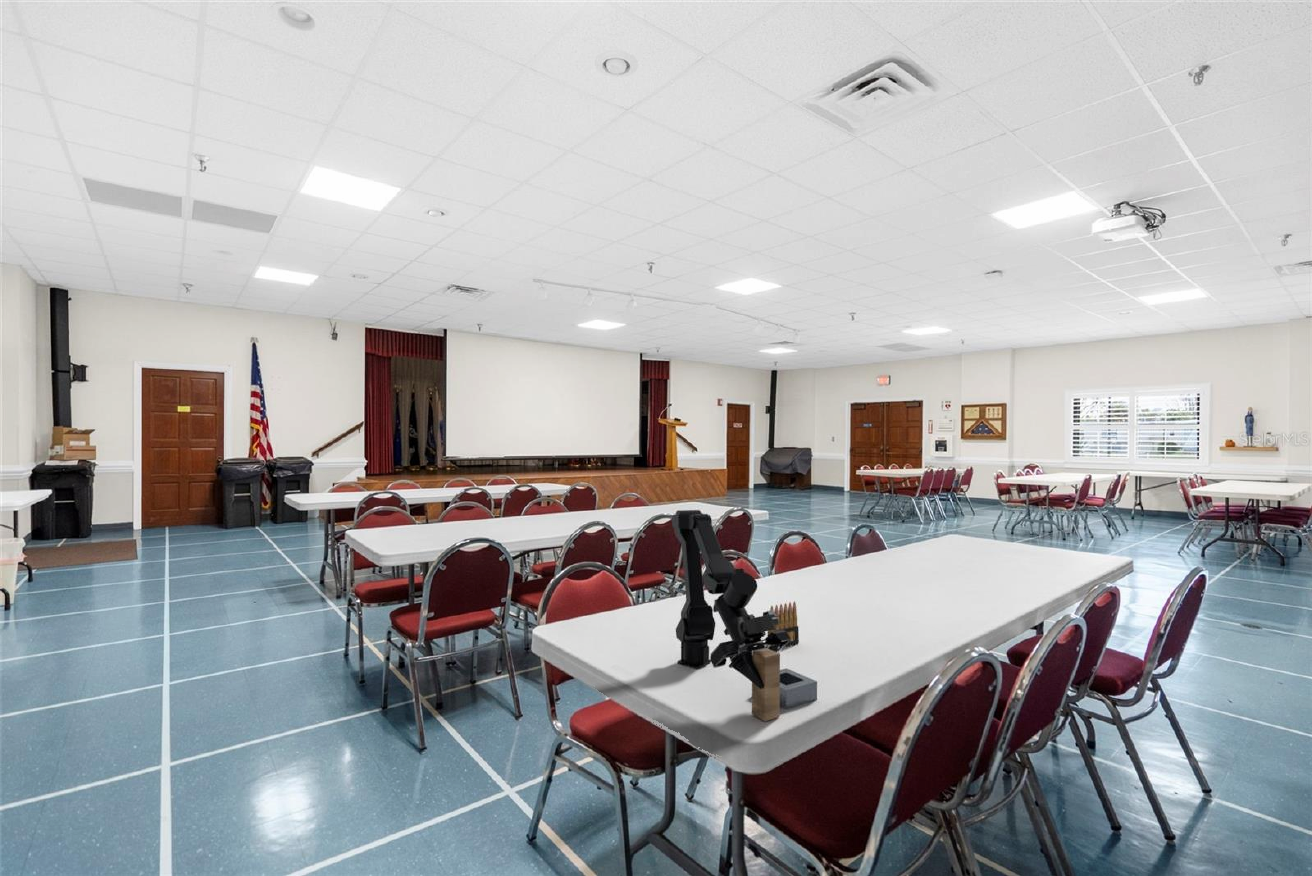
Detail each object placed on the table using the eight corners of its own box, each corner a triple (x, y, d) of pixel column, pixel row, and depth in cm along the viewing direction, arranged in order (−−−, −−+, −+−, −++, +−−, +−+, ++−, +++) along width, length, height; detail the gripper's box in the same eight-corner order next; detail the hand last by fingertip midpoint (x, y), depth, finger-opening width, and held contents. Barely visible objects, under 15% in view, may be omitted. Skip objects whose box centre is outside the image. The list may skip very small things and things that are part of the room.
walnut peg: (751, 714, 128) (752, 651, 128) (766, 709, 130) (766, 648, 130) (765, 721, 125) (765, 657, 125) (779, 716, 127) (779, 653, 127)
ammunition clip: (794, 642, 176) (794, 600, 177) (798, 643, 175) (799, 601, 175) (766, 648, 171) (767, 605, 171) (771, 650, 169) (771, 606, 169)
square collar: (756, 694, 139) (756, 676, 139) (786, 685, 144) (786, 668, 144) (786, 709, 131) (786, 690, 131) (817, 699, 136) (817, 681, 136)
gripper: (719, 604, 126) (755, 675, 117) (785, 593, 136) (823, 658, 127) (695, 632, 132) (728, 702, 123) (760, 620, 143) (795, 683, 133)
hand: (770, 685), depth 126 cm, fingers closed on walnut peg, 4 cm apart
